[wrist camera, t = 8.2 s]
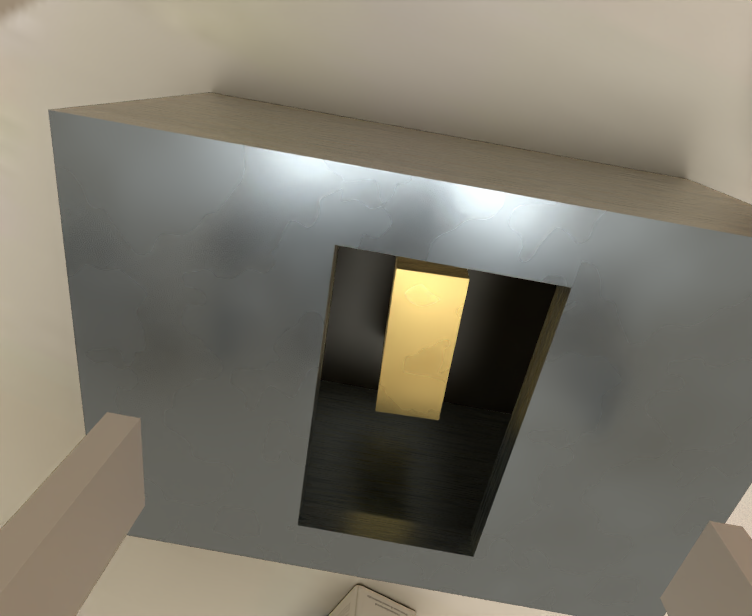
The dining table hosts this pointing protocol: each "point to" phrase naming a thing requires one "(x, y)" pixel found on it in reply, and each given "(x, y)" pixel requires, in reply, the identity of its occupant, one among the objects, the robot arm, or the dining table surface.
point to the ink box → (369, 605)
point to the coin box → (357, 404)
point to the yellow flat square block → (420, 337)
